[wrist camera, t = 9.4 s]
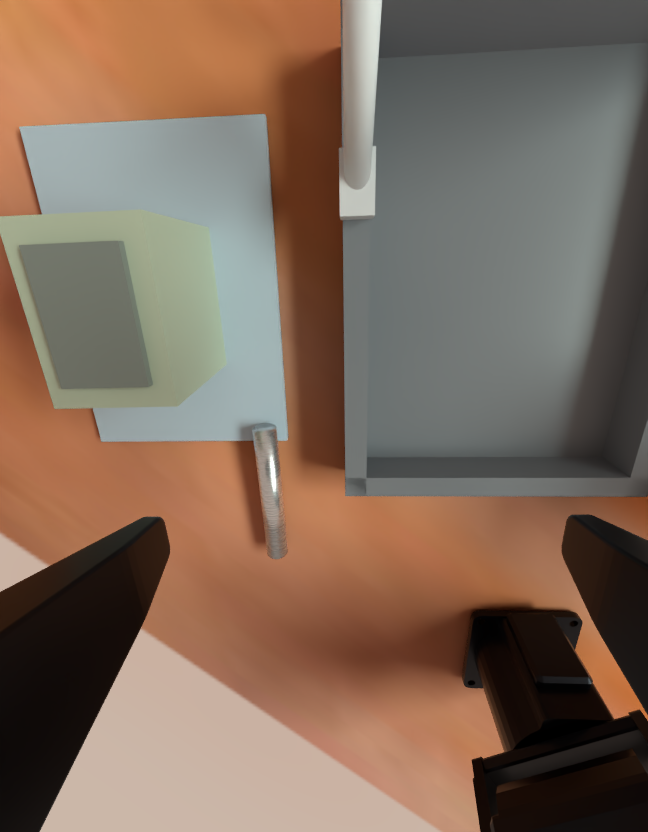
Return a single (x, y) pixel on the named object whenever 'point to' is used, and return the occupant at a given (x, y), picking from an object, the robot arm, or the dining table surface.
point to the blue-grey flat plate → (230, 241)
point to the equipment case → (495, 247)
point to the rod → (270, 488)
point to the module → (117, 305)
